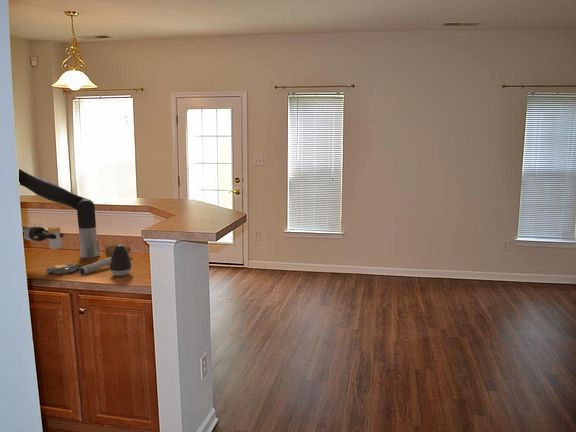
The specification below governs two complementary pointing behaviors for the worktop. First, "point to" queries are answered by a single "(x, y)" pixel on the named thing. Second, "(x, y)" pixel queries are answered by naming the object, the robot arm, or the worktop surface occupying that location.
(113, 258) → the black egg-shaped piece
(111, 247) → the potato
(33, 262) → the worktop surface
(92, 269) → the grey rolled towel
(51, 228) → the grey translucent cylinder
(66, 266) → the sprocket
